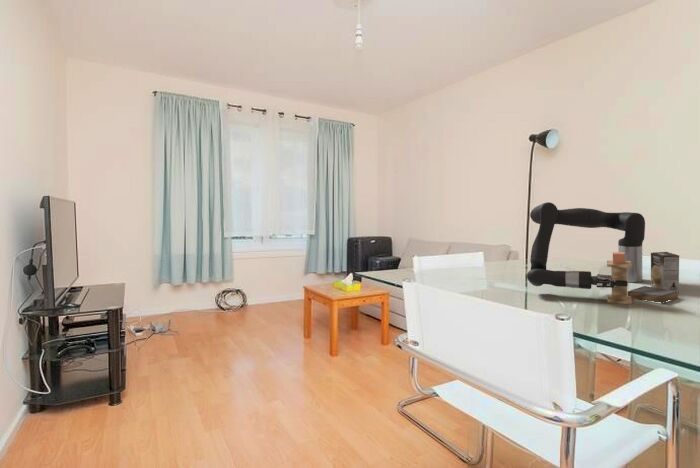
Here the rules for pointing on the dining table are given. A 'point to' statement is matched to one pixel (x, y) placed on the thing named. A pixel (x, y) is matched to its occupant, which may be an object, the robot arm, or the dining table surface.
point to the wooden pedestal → (619, 274)
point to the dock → (653, 294)
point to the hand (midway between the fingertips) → (626, 282)
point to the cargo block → (618, 257)
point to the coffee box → (665, 271)
